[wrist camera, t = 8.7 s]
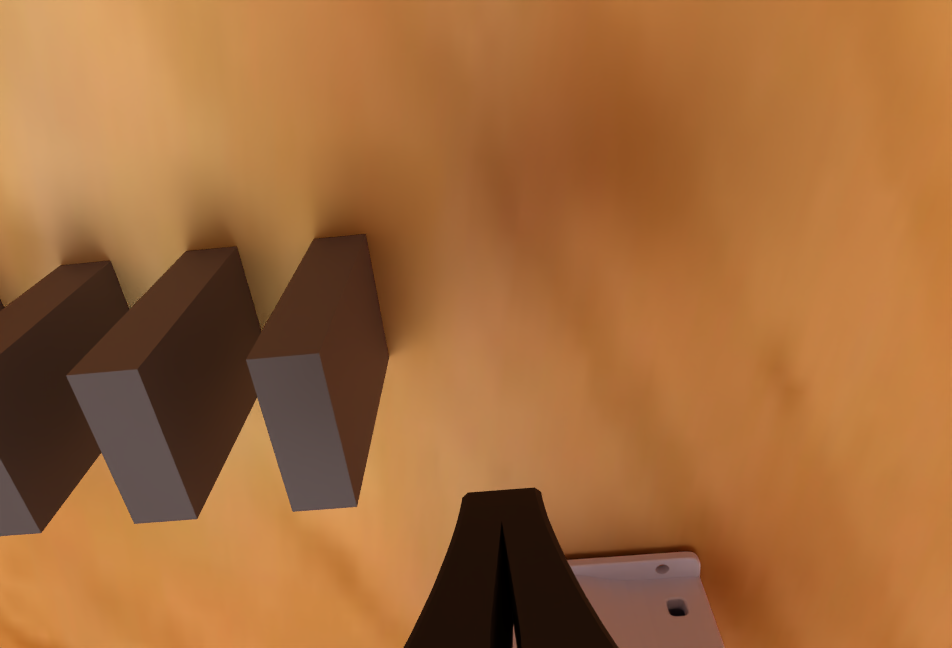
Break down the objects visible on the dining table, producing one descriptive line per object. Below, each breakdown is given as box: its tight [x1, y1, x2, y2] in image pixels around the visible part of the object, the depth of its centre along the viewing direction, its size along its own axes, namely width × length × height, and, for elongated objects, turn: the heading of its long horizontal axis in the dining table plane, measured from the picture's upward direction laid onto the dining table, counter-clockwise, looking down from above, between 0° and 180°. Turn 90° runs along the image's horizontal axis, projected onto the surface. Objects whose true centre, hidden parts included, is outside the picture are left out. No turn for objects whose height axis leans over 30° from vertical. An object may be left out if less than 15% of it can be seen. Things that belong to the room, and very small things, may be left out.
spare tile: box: [0, 261, 129, 536], centre depth 19 cm, size 2×4×7 cm, turn 6°
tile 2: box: [66, 246, 261, 524], centre depth 19 cm, size 2×4×7 cm, turn 6°
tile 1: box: [246, 234, 389, 512], centre depth 19 cm, size 2×4×7 cm, turn 6°
